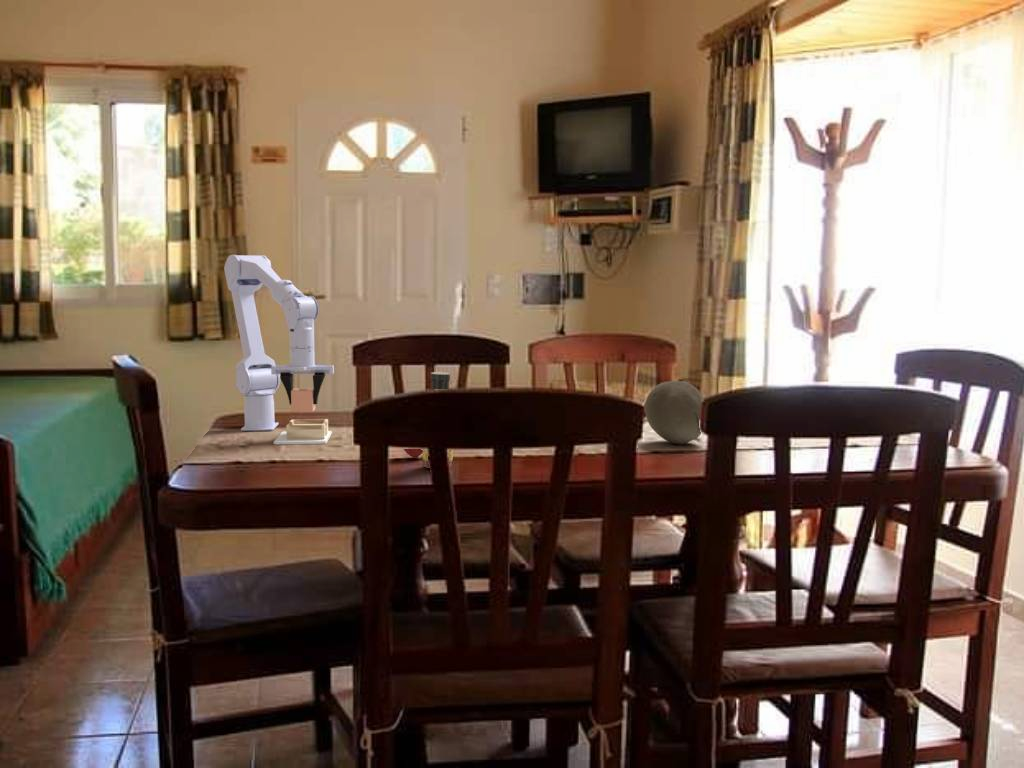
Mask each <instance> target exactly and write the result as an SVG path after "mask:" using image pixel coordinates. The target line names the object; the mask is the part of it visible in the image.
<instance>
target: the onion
mask: <svg viewBox="0 0 1024 768" xmlns="http://www.w3.org/2000/svg"><path fill="white" fill-rule="evenodd" d="M403 450H404V452H405V453H406V454H407V455H408V456H410V457H411V458H412V459H417V458H419V457H420V456H421V455H423V450H421V449H403Z"/></svg>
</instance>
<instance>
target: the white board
mask: <svg viewBox="0 0 1024 768" xmlns="http://www.w3.org/2000/svg"><path fill="white" fill-rule="evenodd" d="M332 434H333V431H332V430H328V434H327V436H326V437H325V439H307V440H287V430H284V431H281V433H280V434H279V435H278V436H277V438H276V439H275V440H274V441H273V445H327V442H328V441H329V439H330V437H331V436H332Z"/></svg>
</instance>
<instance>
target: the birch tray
mask: <svg viewBox="0 0 1024 768" xmlns="http://www.w3.org/2000/svg"><path fill="white" fill-rule="evenodd" d="M285 427H286V430H285V431H287V440H307V439H325V437H326V436H327V434H328V431H329V419H328V418H322V419H321V418H319V419H317V418H315V419H314V418H312V419H311V418H309V419H308V418H306V419H305V418H304V419H300V418H298V419H294V418H293V419H291V420H289V422H288V423H287V424H286V426H285Z"/></svg>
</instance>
